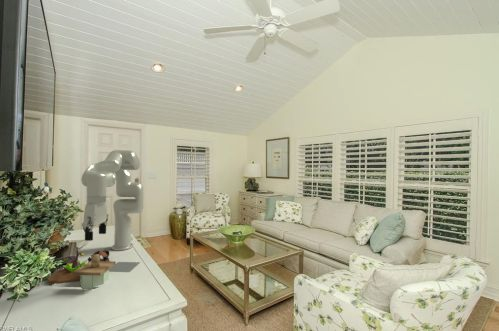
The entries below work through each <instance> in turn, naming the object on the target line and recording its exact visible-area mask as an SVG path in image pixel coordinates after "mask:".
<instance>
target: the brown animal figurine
mask: <svg viewBox="0 0 499 331" xmlns="http://www.w3.org/2000/svg"><path fill="white" fill-rule="evenodd" d="M96 254H99V255H100V260H101V259H103V261H110V258H109V256H110V251H109V250H108V249H104V250H103V251H102V250H101V249H100V250H97V251H95V252H94V253H92V254H91V255H90V256H89V257H88V258H87V263H88V262H90V261H91V256H92V255H96ZM101 256H102V258H101Z"/></svg>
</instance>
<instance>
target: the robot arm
mask: <svg viewBox="0 0 499 331" xmlns="http://www.w3.org/2000/svg"><path fill="white" fill-rule="evenodd" d="M140 167H141V160H140V158H139V156H138V154H137V153H136V152H135V151H133V150H130V149H129V150H126V149H125V150H124V149H115V150H114V149H113V150H112V151H110V152H109V154H108V155H107V156H106V157H105V159H104V160H101V161H99V162H96V163H93V164H91V165H89V166H87V168H86V169H85V170H84V172H83V173H82V175H81V179H80V181H81V184H82V185H83V186H84V187H86V204H85V206H84V211H83V222H82V223H81V227H82V230H83V231H84V241H87V242H89V241H90V242H91V241H93V240H94V231H93V229H94V227H95V226H98V234H99V235H106V234H107V225H108V223H107V222H108V218H109V214H108V213H107V204H106V203H107V188H109V187H112V186H114V185H115V193H116V196H117V197H120V198H119V199H116V200H115V201H113V206H112V207H113V213H114V234H113V235H114V238H113V239H114V240H113V241H114V243H113V245H111V250H113V251H117V252H119V251H126V250H129V249H132V248H133V247H134V243H132V240H133V239H134V238H133V237H132V236H131V235H132V218H131V217H130V216H129V215H130V214H140V213H142V212H143V209H144V186H143V184H142V183H141V182H132V175H131V172H130V171H137V170H139V169H140Z"/></svg>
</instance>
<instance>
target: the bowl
mask: <svg viewBox="0 0 499 331" xmlns="http://www.w3.org/2000/svg"><path fill="white" fill-rule="evenodd" d="M109 278H110V272H109V269H108V270H107V271H106V272H104V273H103V274H102V275H80V281H79V285H81V286H80V287H81V289H82V290H95V289H97V288H99V286H101V285H104V284H105V283H106V282H108V281H109Z"/></svg>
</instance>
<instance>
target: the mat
mask: <svg viewBox="0 0 499 331" xmlns="http://www.w3.org/2000/svg"><path fill="white" fill-rule="evenodd" d="M140 263H141V261H138V262H136V261H118V262H116V264H115V265H114V266H112V267H111V268H110V269H109V273H110V272H111V273H112V272H114V273H130V272H132V270H134V269H135V268H136V267H138V266H139V264H140Z"/></svg>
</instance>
